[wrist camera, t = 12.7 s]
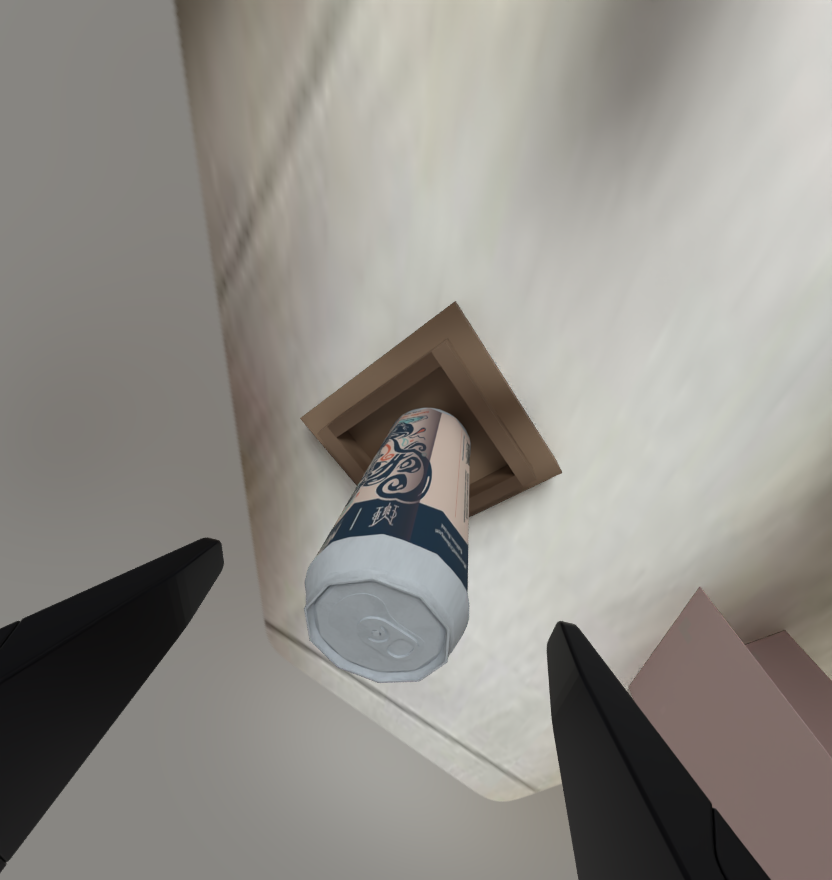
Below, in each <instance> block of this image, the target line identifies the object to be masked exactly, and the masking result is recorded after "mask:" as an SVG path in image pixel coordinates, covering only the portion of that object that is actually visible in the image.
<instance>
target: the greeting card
mask: <svg viewBox="0 0 832 880" xmlns="http://www.w3.org/2000/svg"><path fill="white" fill-rule="evenodd" d="M629 689H630V691H631V694H632V696H633V699H634V701H635V703H636V704H637V705H638V707H639V708H640V709H641V711H642V712H643V713H644V714H645V716H646V717H647V718H648V720H649V721H650V722H651V724H652V725H653V726H654V728H655V729H656V730H657V732H658V733H659V734H660V736H661V737H662V738H663V739H664V741H665V742H666V743H667V745H668V746H669V747H670V749H671V750H672V751H673V753H674V754H675V755H676V757H677V758H678V759H679V761H680V762H681V763H682V764H683V766H684V767H685V768H686V770H687V771H688V772H689V774H690V775H691V776H692V778H693V779H694V780H695V782H696V783H697V784H698V786H699V787H700V788H701V789H702V791H703V792H704V793H705V795H706V796H707V797H708V799H709V800H710V801H711V803H712V808H716V809H717V810H718V812H719V813H720V814H721V816H722V817H723V818H724V819H725V821H726V822H727V823H728V825H729V826H730V827H731V829H732V830H733V831H734V833H735V834H736V835H737V837H738V838H739V839H740V840H741V842H742V843H743V844H744V846H745V847H746V848H747V849H748V851H749V852H750V853H751V854H752V856H753V857H754V858H755V860H756V861H757V862H758V863H759V865H760V866H761V867H762V869H763V870H764V871H765V872H766V874H767V875H768V876H769V878H770V879H771V880H832V681H831V680H830V679H829V677H828V676H827V675H826V674H825V673H824V672H823V671H822V670H821V669H820V668H819V667H818V666H817V664H816V663H815V662H814V661H813V660H812V659H811V658H810V657H809V656H808V655H807V654H806V652H805V651H804V650H803V649H802V648H801V647H800V646H799V645H798V644H797V643H796V642H795V640H794V639H793V638H792V637H791V636H790V635H789V634H788V633H787V632H786V631H782V632H779V633H776V634H774V635H771V636H768V637H765V638H763V639H760V640H757V641H754V642H752V643H749V644H746V645H745V644H744V643H743V642H742V641H741V639H740V638H739V637H738V635H737V634H736V633H735V631H734V630H733V629H732V627H731V626H730V625H729V624H728V622H727V621H726V620H725V618H724V617H723V616H722V614H721V613H720V612H719V611H718V609H717V608H716V607H715V605H714V604H713V603H712V601H711V600H710V599H709V598H708V596H707V595H706V594H705V592H704V591H703V590H702V588H701V587H699V588H698V590H697V591H696V593H695V594H694V596H693V597H692V598H691V600H690V601H689V603H688V604H687V605H686V607H685V608H684V610H683V611H682V612H681V614H680V615H679V617H678V618H677V620H676V621H675V622H674V624H673V625H672V627H671V628H670V629H669V631H668V632H667V634H666V635H665V636H664V638H663V639H662V641H661V642H660V643H659V645H658V646H657V648H656V649H655V651H654V652H653V653H652V655H651V656H650V658H649V659H648V660H647V662H646V663H645V665H644V666H643V667H642V669H641V670H640V672H639V673H638V675H637V676H636V677H635V679H634V680H633V682H632V683H631V684H630V686H629Z"/></svg>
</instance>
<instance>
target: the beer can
mask: <svg viewBox="0 0 832 880" xmlns="http://www.w3.org/2000/svg"><path fill="white" fill-rule="evenodd" d="M470 454H471V442H470V438H469V435H468V433H467V431H466V429H465V428H464V426H463V425H462V424H461V422H460V421H459V420H457V419H456V418H455V417H454V416H452V415H451V414H449V413H447V412H445V411H442V410H440V409H435V408H420V409H415V410H411V411H409V412H407V413H405V414H403V415H402V416H401V417H400V418H399V419H398V420H397V421H396V422H395V423H394V424H393V426H392V428H391V429H390V431H389V433H388V435H387V436H386V438H385V440H384V442H383V443H382V445H381V447H380V448H379V450H378V452H377V454H376V455H375V457H374V459H373V460H372V462H371V464H370V465H369V467H368V469H367V471H366V472H365V474H364V476H363V477H362V479H361V481H360V483H359V484H358V486H357V488H356V489H355V491H354V493H353V494H352V496H351V498H350V500H349V501H348V503H347V505H346V506H345V508H344V510H343V512H342V513H341V515H340V517H339V518H338V520H337V522H336V523H335V525H334V527H333V529H332V530H331V532H330V534H329V535H328V537H327V539H326V541H325V542H324V544H323V546H322V547H321V549H320V551H319V552H318V554H317V556H316V557H315V558H314V560H313V561H312V563H311V564H310V566H309V567H308V570H307V574H306V579H305V589H306V606H305V608H304V611H305V617H306V622H307V628H308V634H309V639H310V641H311V642H312V643H313V644H314V645H315V646H316V647H317V648H318V649H319V650H320V651H321V652H322V653H323V654H324V655H325V656H326V657H327V658H328V659H329V660H330V661H332V662H333V663H334V664H335V665H336V666H337V667H338V668H340V669H343V670H345V671H348V672H351V673H353V674H356V675H359V676H361V677H364V678H367V679H369V680H372V681H375V682H377V683H388V682H417V681H421V680H422V679H424V678H425V677H427V676H428V675H430V674H431V673H432V672H434V671H435V670H437V669H438V668H440V667H441V666H443V665H444V664H446V663H447V662H448V656H449V655H450V653H451V652H452V651H453V649H454V648H455V646H456V645H457V643H458V642H459V640H460V638H461V637H462V635H463V633H464V631H465V629H466V627H467V624H468V620H469V599H468V593H467V589H468V528H469V468H470Z"/></svg>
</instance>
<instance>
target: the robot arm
mask: <svg viewBox="0 0 832 880" xmlns="http://www.w3.org/2000/svg"><path fill="white" fill-rule="evenodd" d="M223 565H224V559H223V551H222V544H221V542H220V541H219V540H216V539H211V538H202V539H200V540H197V541H195V542H193V543H191V544H188V545H186V546H184V547H182V548H179V549H177V550H175V551H173V552H170V553H168V554H166V555H164V556H161V557H159V558H157V559H155V560H153V561H150V562H148V563H146V564H144V565H142V566H139V567H137V568H135V569H132V570H130V571H128V572H126V573H124V574H122V575H119V576H117V577H115V578H113V579H110V580H108V581H106V582H103V583H101V584H99V585H97V586H94V587H92V588H90V589H88V590H86V591H83V592H81V593H79V594H77V595H74V596H72V597H70V598H68V599H65V600H63V601H61V602H59V603H56V604H54V605H52V606H50V607H48V608H45V609H43V610H41V611H39V612H37V613H35V614H32V615H30V616H27V617H25V618H23V619H22V620H21V621H16V622H14V623H12V624H9V625H7V626H5V627H3V628H1V629H0V873H1V871H2V870H3V869H4V867H5V866H6V862H8V861H9V860H10V859H11V858H12V856H13V855H14V854H15V852H16V851H17V850H18V848H19V847H20V846H21V844H22V843H23V842H24V840H25V839H26V838H27V836H28V835H29V834H30V833H31V831H32V830H33V828H34V827H35V826H36V825H37V823H38V822H39V821H40V819H41V818H42V817H43V815H44V814H45V813H46V811H47V810H48V809H49V807H50V806H51V805H52V803H53V802H54V801H55V799H56V798H57V797H58V796H59V794H60V793H61V792H62V790H63V789H64V788H65V786H66V785H67V784H68V782H69V781H70V780H71V778H72V777H73V776H74V775H75V773H76V772H77V771H78V769H79V768H80V767H81V765H82V764H83V763H84V761H85V760H86V759H87V757H88V756H89V755H90V753H91V752H92V751H93V749H94V748H95V747H96V746H97V744H98V743H99V741H100V740H101V739H102V738H103V736H104V735H105V734H106V732H107V731H108V730H109V728H110V727H111V726H112V724H113V723H114V722H115V721H116V719H117V718H118V716H119V715H120V714H121V712H122V711H123V710H124V709H125V707H126V706H127V705H128V703H129V702H130V701H131V699H132V698H133V697H134V695H135V694H136V693H137V691H138V690H139V689H140V688H141V686H142V685H143V684H144V682H145V681H146V680H147V678H148V677H149V676H150V674H151V673H152V672H153V670H154V669H155V668H156V667H157V665H158V664H159V662H160V661H161V660H162V659H163V657H164V656H165V655H166V653H167V652H168V651H169V649H170V648H171V647H172V645H173V644H174V643H175V641H176V640H177V639H178V638H179V636H180V635H181V633H182V632H183V631H184V629H185V628H186V626H187V625H188V624H189V622H190V621H191V619H192V618H193V616H194V614H195V613H196V611H197V610H198V608H199V606H200V605H201V603H202V602H203V600H204V598H205V597H206V595H207V594H208V592H209V590H210V589H211V587H212V586H213V584H214V582H215V581H216V579H217V577H218V576H219V574H220V573H221V571H222V569H223ZM547 662H548V676H549V690H550V704H551V716H552V725H553V731H554V738H555V744H556V750H557V755H558V761H559V767H560V773H561V779H562V785H563V791H564V796H565V802H566V809H567V815H568V820H569V826H570V832H571V838H572V844H573V850H574V856H575V861H576V868H577V874H578V879H579V880H771V879H770V878H769V876H768V875H767V874H766V872H765V871H764V870H763V869H762V867H761V866H760V865H759V863H758V862H757V861H756V860H755V858H754V857H753V856H752V854H751V853H750V852H749V851H748V849H747V848H746V847H745V846H744V844H743V843H742V842H741V840H740V839H739V838H738V837H737V835H736V834H735V833H734V831H733V830H732V829H731V827H730V826H729V825H728V823H727V822H726V821H725V819H724V818H723V817H722V816H721V814H720V813H719V812H718V810H717V809H716V808H712V803H711V801H710V800H709V799H708V797H707V796H706V795H705V793H704V792H703V791H702V789H701V788H700V787H699V786H698V784H697V783H696V782H695V780H694V779H693V778H692V776H691V775H690V774H689V772H688V771H687V770H686V768H685V767H684V766H683V764H682V763H681V762H680V761H679V759H678V758H677V757H676V755H675V754H674V753H673V751H672V750H671V749H670V747H669V746H668V745H667V743H666V742H665V741H664V739H663V738H662V737H661V736H660V734H659V733H658V732H657V730H656V729H655V728H654V726H653V725H652V724H651V722H650V721H649V720H648V718H647V717H646V716H645V714H644V713H643V712H642V711H641V709H640V708H639V707H638V705H637V704H636V703H635V701H634V700H633V699H632V697H631V696H630V695H629V693H628V692H627V691H626V689H625V688H624V687H623V686H622V684H621V683H620V682H619V680H618V679H617V678H616V676H615V675H614V674H613V672H612V671H611V670H610V668H609V667H608V666H607V664H606V663H605V662H604V661H603V659H602V658H601V657H600V655H599V654H598V653H597V651H596V650H595V649H594V647H593V646H592V645H591V643H590V642H589V641H588V639H587V638H586V637H585V636H584V634H583V633H582V632H581V630H580V629H579V628H578V627H577V626H576V625H575V624H572V623H567V622H563V621H559V622H557V624H556V626H555V628H554V630H553V632H552V634H551V636H550V638H549V640H548V643H547Z"/></svg>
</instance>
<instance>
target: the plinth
mask: <svg viewBox="0 0 832 880" xmlns="http://www.w3.org/2000/svg"><path fill="white" fill-rule="evenodd" d="M420 408H435V409H440V410H442V411H445V412H447V413H449V414H451V415H452V416H454V417H455V418H456V419H457V420H459V421H460V422H461V424H462V425H463V426H464V428H465V429H466V431H467V433H468V435H469V438H470V442H471V454H470V468H469V517H471V516H473V515H475V514H477V513H479V512H481V511H483V510H485V509H487V508H490V507H492V506H494V505H496V504H498V503H500V502H502V501H504V500H506V499H508V498H510V497H513V496H515V495H517V494H519V493H521V492H523V491H525V490H527V489H529V488H531V487H533V486H536V485H538V484H540V483H542V482H544V481H546V480H548V479H550V478H552V477H554V476H556V475H559V474H561V473H562V471H561V469H560V467H559V465H558V463H557V461H556V459H555V458H554V456H553V454H552V453H551V451H550V450H549V448H548V446H547V445H546V443H545V442H544V440H543V439H542V437H541V435H540V434H539V432H538V431H537V429H536V427H535V426H534V424H533V423H532V421H531V420H530V418H529V416H528V415H527V413H526V412H525V410H524V408H523V407H522V405H521V404H520V402H519V401H518V399H517V397H516V396H515V394H514V393H513V391H512V389H511V388H510V386H509V385H508V383H507V382H506V380H505V378H504V377H503V375H502V374H501V372H500V371H499V369H498V367H497V366H496V364H495V363H494V361H493V359H492V358H491V356H490V355H489V353H488V352H487V350H486V348H485V347H484V345H483V344H482V342H481V340H480V339H479V337H478V336H477V334H476V333H475V331H474V329H473V328H472V326H471V325H470V323H469V321H468V320H467V318H466V317H465V315H464V314H463V312H462V310H461V309H460V307H459V306H458V304H457V303H456V301H455V302H454V303H452V304H451V305H450V306H448V307H447V308H446V309H444V310H443V311H442V312H440V313H439V314H438V315H436V316H435V317H434V318H432V319H431V320H430V321H428V322H427V323H426V324H424V325H423V326H422V327H420V328H419V329H418V330H416V331H415V332H414V333H412V334H411V335H410V336H408V337H407V338H406V339H405V340H403V341H402V342H401V343H399V344H398V345H397V346H395V347H394V348H393V349H391V350H390V351H389V352H387V353H386V354H385V355H383V356H382V357H381V358H379V359H378V360H377V361H375V362H374V363H373V364H371V365H370V366H369V367H367V368H366V369H365V370H363V371H362V372H361V373H359V374H358V375H357V376H356V377H354V378H353V379H352V380H350V381H349V382H348V383H346V384H345V385H344V386H342V387H341V388H340V389H338V390H337V391H336V392H334V393H333V394H332V395H330V396H329V397H328V398H326V399H325V400H324V401H322V402H321V403H320V404H318V405H317V406H316V407H314V408H313V409H312V410H310V411H309V412H308V413H306V414H305V415H304V416H303V417H301V418H300V419H301V420H302V421H303V422H304V424H305V425H306V426H307V427H308V428H309V430H310V431H311V432H312V433H313V434H314V435H315V437H316V438H317V439H318V440H319V441H320V443H321V444H322V445H323V446H324V447H325V448H326V450H327V451H328V452H329V453H330V454H331V456H332V457H333V458H334V459H335V460H336V461H337V463H338V464H339V465H340V466H341V467H342V469H343V470H344V471H345V472H346V473H347V475H348V476H349V477H350V478H351V479H352V480H353V482H354V483H355V484H356V485H357V486H358V484H359V483H360V481H361V479H362V477H363V476H364V474H365V472H366V471H367V469H368V467H369V465H370V464H371V462H372V460H373V459H374V457H375V455H376V454H377V452H378V450H379V448H380V447H381V445H382V443H383V442H384V440H385V438H386V436H387V435H388V433H389V431H390V429H391V428H392V426H393V424H394V423H395V422H396V421H397V420H398V419H399V418H400V417H401V416H402V415H403V414H405V413H407V412H409V411H411V410H415V409H420Z"/></svg>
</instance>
